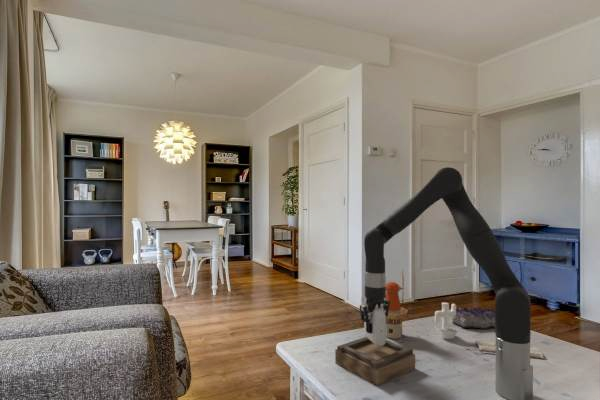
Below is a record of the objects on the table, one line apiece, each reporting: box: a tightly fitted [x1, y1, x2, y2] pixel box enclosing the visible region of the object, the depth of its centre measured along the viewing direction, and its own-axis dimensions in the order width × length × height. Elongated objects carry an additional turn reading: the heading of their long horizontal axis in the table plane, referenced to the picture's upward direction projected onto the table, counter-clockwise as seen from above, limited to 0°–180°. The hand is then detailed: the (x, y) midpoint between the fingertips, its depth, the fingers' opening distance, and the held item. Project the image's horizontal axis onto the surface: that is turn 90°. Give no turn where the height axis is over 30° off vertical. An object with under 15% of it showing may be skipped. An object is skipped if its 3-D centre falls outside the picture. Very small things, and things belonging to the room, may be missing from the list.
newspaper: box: [475, 340, 544, 360], centre depth 141 cm, size 23×12×2 cm, turn 71°
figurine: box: [433, 302, 459, 340], centre depth 156 cm, size 7×9×15 cm
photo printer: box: [363, 308, 387, 346], centre depth 128 cm, size 10×4×12 cm, turn 17°
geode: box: [451, 306, 495, 330], centre depth 170 cm, size 20×12×10 cm, turn 90°
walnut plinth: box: [334, 336, 416, 387], centre depth 128 cm, size 20×20×6 cm
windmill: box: [384, 269, 409, 340], centre depth 156 cm, size 17×14×30 cm
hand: (375, 330), depth 128 cm, fingers closed on photo printer, 5 cm apart
